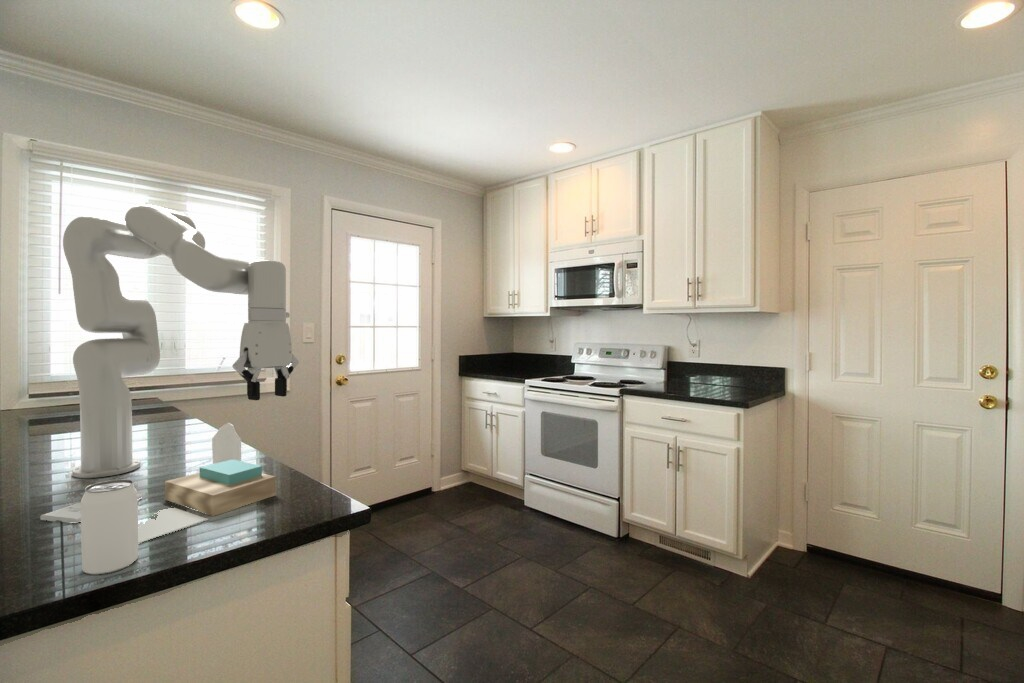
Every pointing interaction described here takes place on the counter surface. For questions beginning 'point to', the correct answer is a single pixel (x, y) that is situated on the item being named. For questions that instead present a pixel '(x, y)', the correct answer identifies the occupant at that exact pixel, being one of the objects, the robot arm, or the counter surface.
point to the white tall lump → (226, 444)
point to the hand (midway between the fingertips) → (267, 397)
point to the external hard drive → (67, 513)
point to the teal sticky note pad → (230, 471)
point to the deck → (218, 493)
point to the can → (109, 526)
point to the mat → (167, 523)
